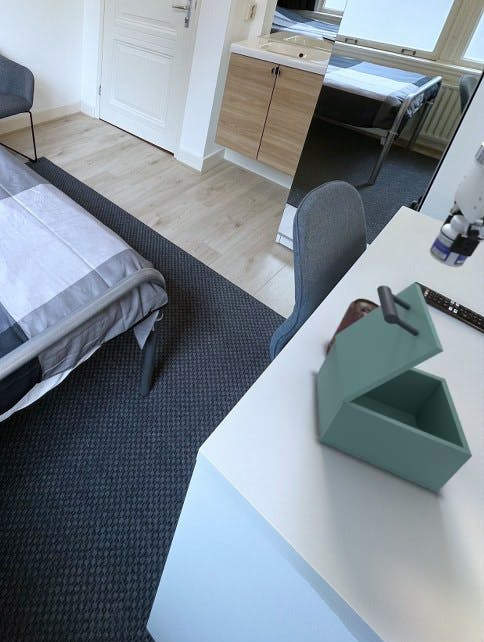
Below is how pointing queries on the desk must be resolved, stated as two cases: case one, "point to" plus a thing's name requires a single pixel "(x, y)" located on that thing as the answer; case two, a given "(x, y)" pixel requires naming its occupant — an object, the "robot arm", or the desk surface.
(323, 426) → the teal lidded box
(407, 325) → the lid
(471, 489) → the desk surface
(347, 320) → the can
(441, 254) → the pill bottle
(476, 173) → the robot arm
